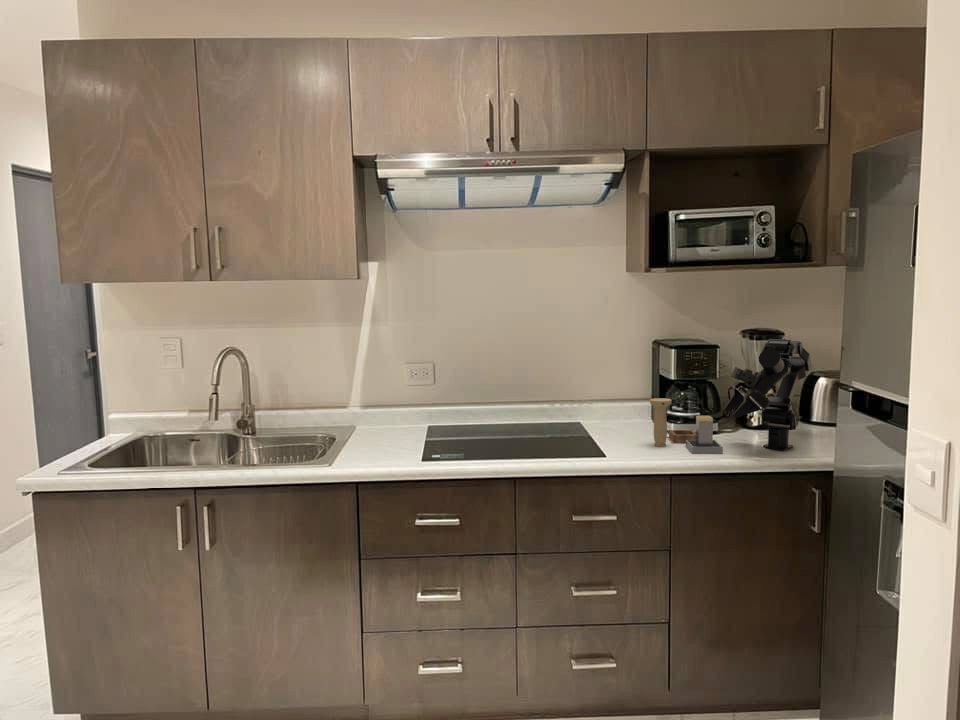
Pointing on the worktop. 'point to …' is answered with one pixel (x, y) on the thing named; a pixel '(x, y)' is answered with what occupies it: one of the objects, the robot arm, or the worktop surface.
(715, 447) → the tray
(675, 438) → the holder
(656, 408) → the handle
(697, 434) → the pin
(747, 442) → the worktop surface
